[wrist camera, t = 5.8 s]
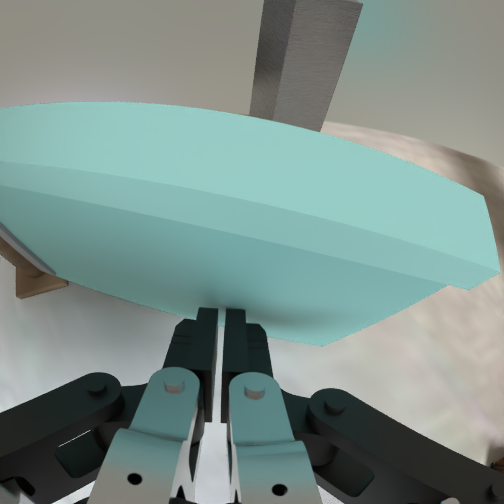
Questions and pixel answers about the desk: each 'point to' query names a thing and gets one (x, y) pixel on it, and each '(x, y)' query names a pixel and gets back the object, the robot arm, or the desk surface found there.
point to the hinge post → (29, 274)
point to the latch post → (301, 59)
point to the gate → (234, 216)
